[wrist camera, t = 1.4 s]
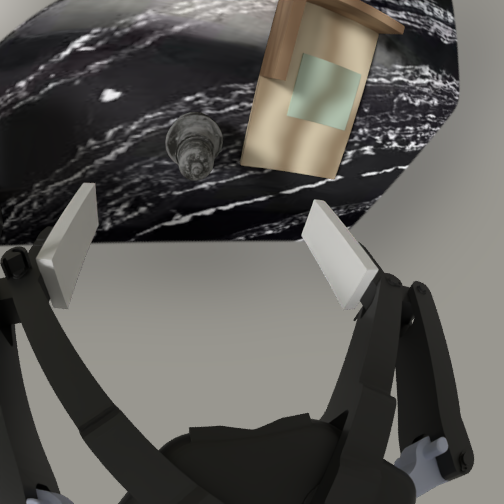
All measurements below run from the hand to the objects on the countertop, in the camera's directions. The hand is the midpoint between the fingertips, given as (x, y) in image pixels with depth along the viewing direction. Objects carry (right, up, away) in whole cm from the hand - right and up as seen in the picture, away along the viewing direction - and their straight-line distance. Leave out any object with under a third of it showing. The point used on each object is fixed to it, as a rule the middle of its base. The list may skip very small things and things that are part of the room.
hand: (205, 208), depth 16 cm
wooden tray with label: (+10, +17, +12) cm, 23 cm away
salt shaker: (-4, +11, +13) cm, 18 cm away
